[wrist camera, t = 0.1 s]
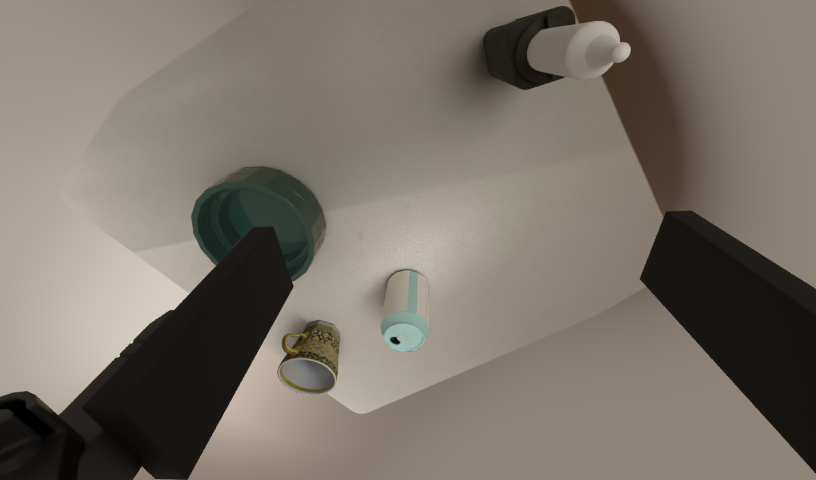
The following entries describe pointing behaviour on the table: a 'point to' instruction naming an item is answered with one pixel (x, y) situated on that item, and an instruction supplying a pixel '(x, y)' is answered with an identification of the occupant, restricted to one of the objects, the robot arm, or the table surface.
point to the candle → (552, 49)
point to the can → (406, 311)
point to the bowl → (260, 215)
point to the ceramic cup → (311, 359)
